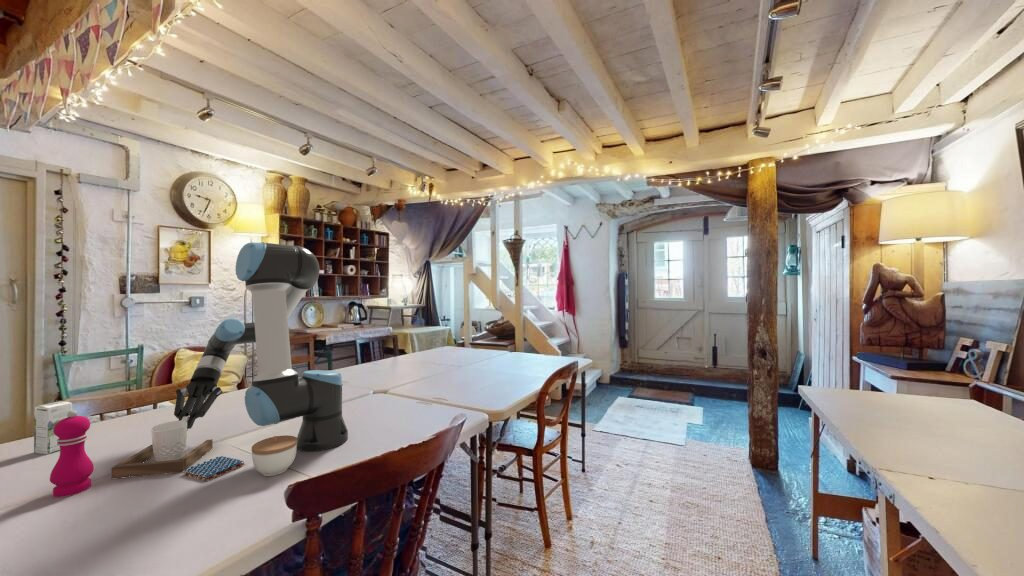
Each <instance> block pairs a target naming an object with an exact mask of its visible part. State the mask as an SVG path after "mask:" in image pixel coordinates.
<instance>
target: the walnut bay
mask: <svg viewBox="0 0 1024 576" xmlns="http://www.w3.org/2000/svg"><path fill="white" fill-rule="evenodd" d="M213 441H214V440H213V439H211V438H210V439H205V440H204V441H203V442H202V443H200V444H199V445H197V446H196V447H195V448H194V449H192V450H191V451H188V452H187V453H186V454H185V456H183V457H182V458H181V459H177V460H166V461H148V459H149V458H150V459H151V457H152V456H153V457H154V453H153V446H152V444H150V445H148V446H147V447H145V448H143V449H141V450H139V451H138V452H136V453H135V454H133V455H131V456H129V457H128V458H126V459H124V460H122V461H120V462H119V463H117V464H116V465H114V466H112V467H111V472H110V473H111V474H110V475H111V479H112V478H117V479H123V478H122V477H127V478H132V477H131V476H137V477H144V476H143V475H147V476H155V475H156V474H157V475H164V474H165V473H167V474H173V473H174V474H175V473H184V472H185V471H184V469H187V470H188V469H189V468H191V467H192V465H194V464H195V463H196V462H198V461H199V460H200V459H202V458H203V457H205V455H207V454H208V453H209V452H211V451H212V450H213V449H212V448H213V447H214V445H213ZM211 449H212V450H211ZM210 450H211V451H210ZM207 452H208V453H207ZM206 453H207V454H206ZM202 456H203V457H202ZM153 457H152V458H153ZM150 459H149V460H150ZM146 460H147V461H146ZM197 460H198V461H197ZM143 462H144V463H143ZM193 463H194V464H193ZM129 476H130V477H129ZM112 480H113V479H112Z"/></svg>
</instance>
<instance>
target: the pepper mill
mask: <svg viewBox="0 0 1024 576" xmlns="http://www.w3.org/2000/svg"><path fill="white" fill-rule="evenodd" d="M78 413H79V412H78V411H77V410H74V409H72V411H69V412H68V413H67V418H65V419H62V420H60V421H59V422H58V423H57V424H56V425H55V427H54V434H55V435H56V436H57V437H59V439H57V445H58V446H60V451H59V457H58V459H57V461H56V463H55V464H54V467H52V470H51V473H50V475H49V482H50V483H51V484H53V485H54V487H53V488H52V497H54V498H64V497H70V496H74V495H77V494H80V493H83V492H85V491H87V490H88V489H90V488H91V486H92V478H90V476H91V475H92V474H93V473H94V471H95V468H94V467H95V465H94V462H93V461H92V460H91V458H90V457H89V455H88V454H87V453H86V450H85V444H86V443H85V442H86V440H88V433H86V432H88V430H89V429H90V427H91V421H90V419H89V418H88V417H87V416H83V415H78ZM89 487H90V488H89ZM86 489H87V490H86ZM84 490H85V491H84ZM82 491H83V492H82ZM73 494H74V495H73ZM69 495H70V496H69Z"/></svg>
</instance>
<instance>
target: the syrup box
mask: <svg viewBox="0 0 1024 576" xmlns="http://www.w3.org/2000/svg"><path fill="white" fill-rule="evenodd" d="M72 410H73V403H72V402H70V401H66V400H65V401H64V400H63V401H62V400H61V401H59V400H58V401H54V402H50V403H45V404H40V405H37V406H34V415H33V416H34V418H33V419H34V421H33V422H34V423H33V425H34V426H33V427H34V428H33V429H34V431H33V435H34V436H33V453H34V454H41V455H42V454H43V455H49V454H52V453H56V452H60V446H58V445H57V439H59V437H57V436H56V435H55V434H54V427H55V425H56V424H57V423H58V422H59V421H60V420H62V419H65V418H67V413H68V412H69V411H72Z"/></svg>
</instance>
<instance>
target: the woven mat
mask: <svg viewBox="0 0 1024 576" xmlns="http://www.w3.org/2000/svg"><path fill="white" fill-rule="evenodd" d="M245 466H246V464H245V462H244V460H242V459H238V458H237V459H236V458H234V457H233V458H231V457H229V456H224V455H221V456H216V457H215V458H213V459H212V458H211V459H209V461H206V460H205V461H203V463H198V464H197V465H195V466H192V465H191V466H190V467H189V468H187V469H184V471H183V474H182V476H185V477H188V478H193V479H194V480H200V481H203V482H209V481H211V480H212V481H213V480H214V479H216V478H219V477H222V476H223V475H226V474H228V473H230V472H232V471H235V470H238V469H240V468H242V467H245Z"/></svg>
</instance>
